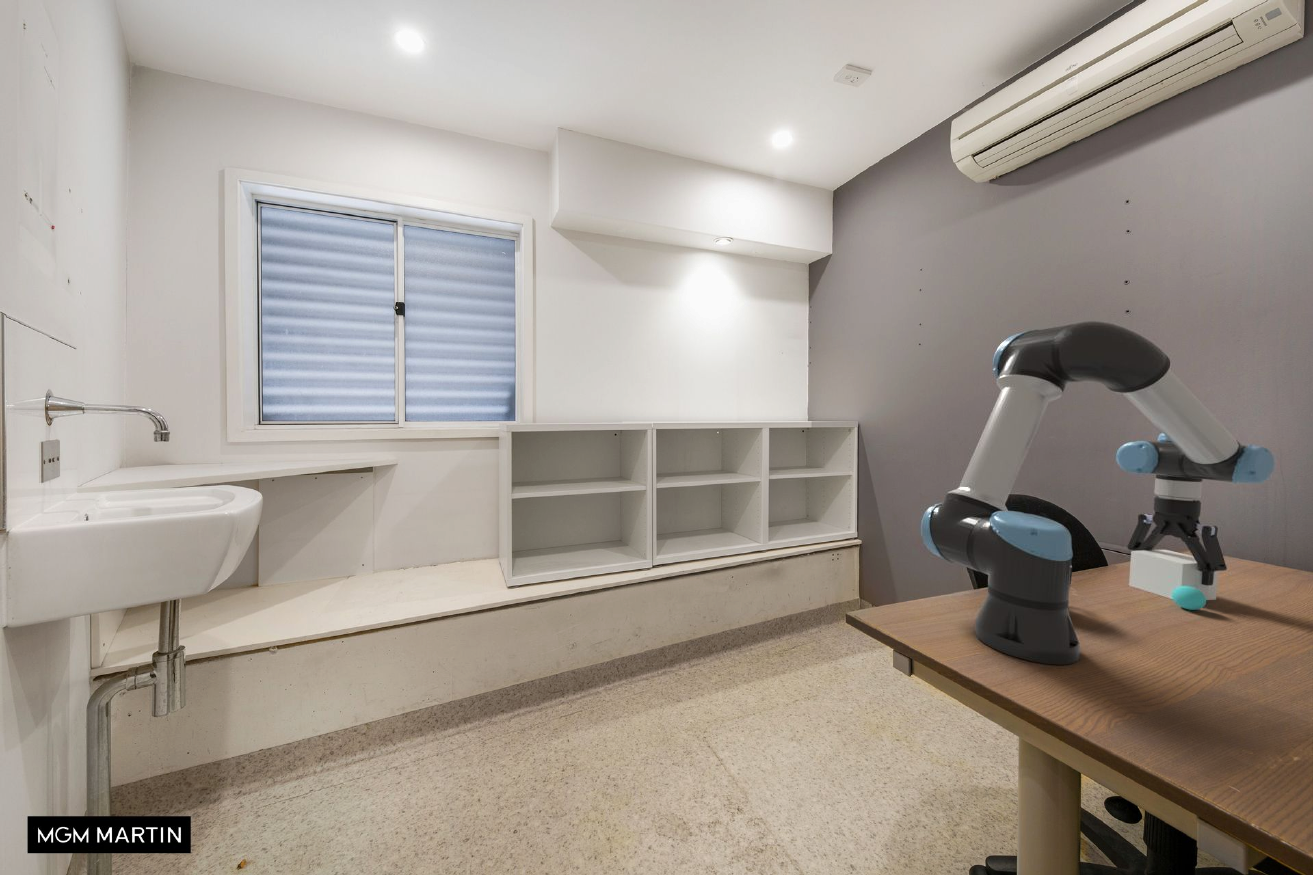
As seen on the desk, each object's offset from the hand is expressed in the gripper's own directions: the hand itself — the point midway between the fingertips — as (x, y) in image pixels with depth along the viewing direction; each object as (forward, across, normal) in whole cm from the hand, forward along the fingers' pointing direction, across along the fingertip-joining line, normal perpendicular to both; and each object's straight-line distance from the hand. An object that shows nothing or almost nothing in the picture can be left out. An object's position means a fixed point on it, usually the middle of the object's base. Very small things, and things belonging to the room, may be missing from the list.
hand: (1171, 589), depth 113 cm
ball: (-2, -9, +8) cm, 12 cm away
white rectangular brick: (+1, 0, 0) cm, 1 cm away
